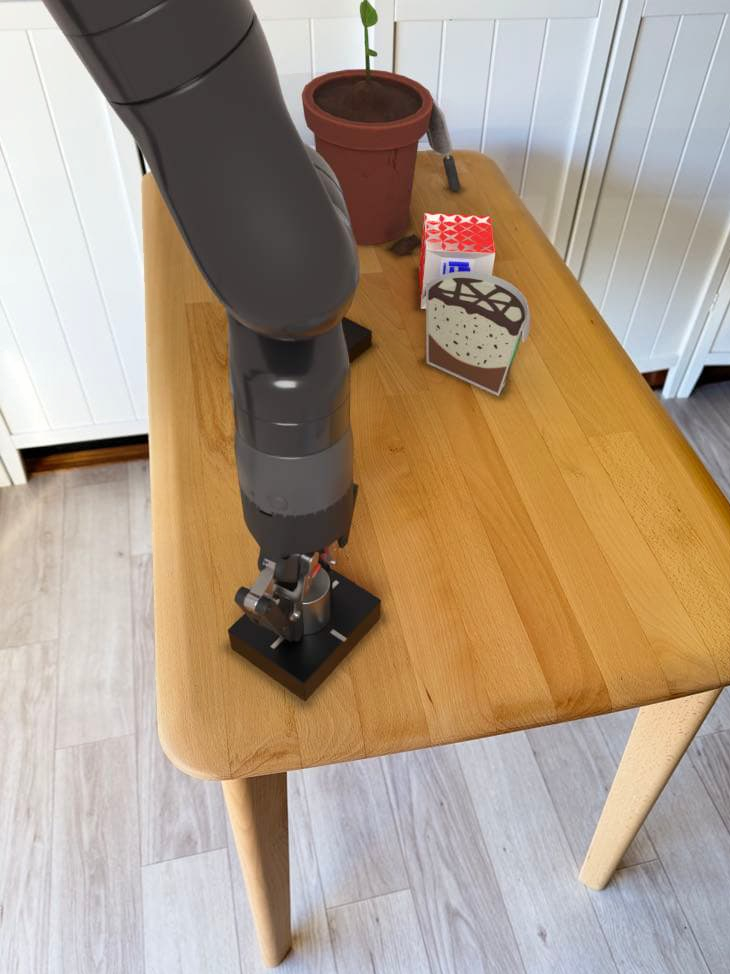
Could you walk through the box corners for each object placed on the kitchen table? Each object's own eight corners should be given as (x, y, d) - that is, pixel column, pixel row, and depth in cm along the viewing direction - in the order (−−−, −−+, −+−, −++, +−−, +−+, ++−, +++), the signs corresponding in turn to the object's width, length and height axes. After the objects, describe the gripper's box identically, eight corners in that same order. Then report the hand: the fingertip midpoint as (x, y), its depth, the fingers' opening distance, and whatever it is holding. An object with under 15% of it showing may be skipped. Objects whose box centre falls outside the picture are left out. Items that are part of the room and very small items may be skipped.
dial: (312, 643, 65) (310, 609, 61) (271, 620, 66) (267, 586, 62) (339, 607, 67) (339, 573, 63) (299, 586, 68) (297, 551, 64)
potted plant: (307, 182, 115) (300, -23, 95) (459, 187, 117) (482, -14, 97) (304, 253, 104) (296, 37, 84) (472, 257, 106) (502, 47, 86)
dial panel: (306, 703, 65) (304, 684, 62) (230, 648, 68) (226, 627, 65) (381, 619, 70) (382, 599, 68) (308, 572, 73) (306, 550, 70)
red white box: (481, 274, 103) (490, 216, 97) (485, 311, 99) (495, 253, 92) (418, 271, 103) (423, 212, 97) (420, 308, 98) (425, 249, 92)
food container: (536, 372, 92) (554, 296, 84) (510, 401, 89) (527, 325, 81) (442, 331, 96) (452, 255, 88) (415, 357, 92) (422, 281, 84)
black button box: (314, 392, 88) (313, 363, 85) (230, 345, 92) (226, 316, 89) (371, 346, 93) (372, 317, 90) (290, 304, 97) (288, 274, 94)
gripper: (302, 386, 58) (309, 536, 71) (182, 519, 50) (215, 661, 63) (395, 422, 56) (385, 569, 70) (288, 567, 48) (299, 702, 61)
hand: (304, 612), depth 66 cm, fingers closed on dial, 4 cm apart
